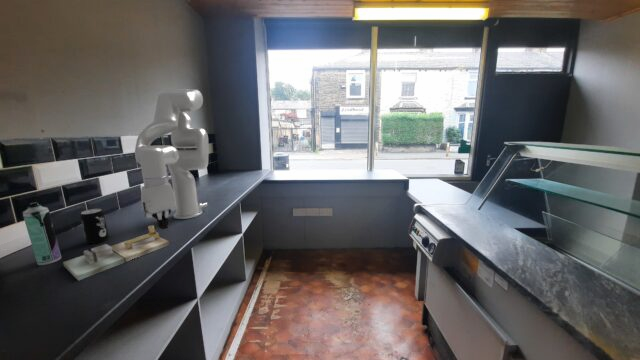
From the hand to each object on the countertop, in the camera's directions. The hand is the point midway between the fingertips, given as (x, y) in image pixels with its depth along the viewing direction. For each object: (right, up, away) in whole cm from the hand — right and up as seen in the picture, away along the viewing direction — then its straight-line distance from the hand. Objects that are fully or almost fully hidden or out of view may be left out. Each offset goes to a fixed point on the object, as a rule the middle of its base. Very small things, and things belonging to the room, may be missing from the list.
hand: (163, 228), depth 96 cm
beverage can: (-26, -5, 0) cm, 26 cm away
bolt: (-4, -4, -5) cm, 8 cm away
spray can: (-29, -8, -14) cm, 33 cm away
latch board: (-8, -7, -11) cm, 15 cm away
